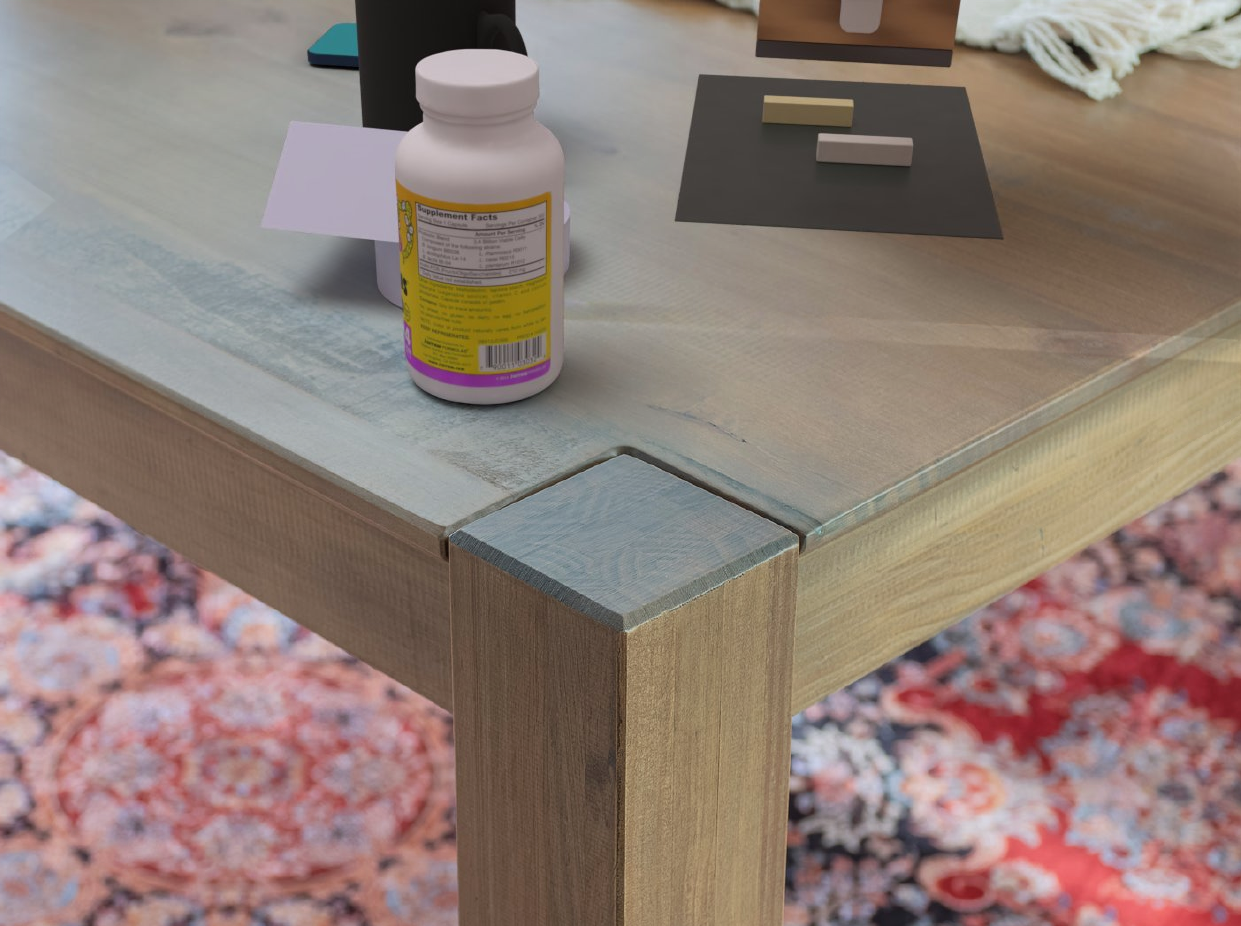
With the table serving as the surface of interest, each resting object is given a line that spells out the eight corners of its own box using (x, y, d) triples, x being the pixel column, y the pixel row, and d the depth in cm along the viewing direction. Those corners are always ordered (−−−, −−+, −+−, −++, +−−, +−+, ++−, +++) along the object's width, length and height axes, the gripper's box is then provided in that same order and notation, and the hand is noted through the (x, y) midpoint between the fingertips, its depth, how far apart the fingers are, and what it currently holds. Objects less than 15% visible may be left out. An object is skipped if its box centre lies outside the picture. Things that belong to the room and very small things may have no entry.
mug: (462, 221, 85) (457, 8, 79) (335, 155, 92) (321, -44, 86) (590, 186, 89) (594, -18, 83) (458, 126, 97) (453, -66, 90)
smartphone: (336, 19, 110) (560, 32, 108) (337, 32, 111) (560, 45, 109) (303, 53, 105) (539, 68, 103) (304, 66, 105) (539, 81, 103)
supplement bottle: (446, 330, 74) (436, 31, 67) (585, 356, 73) (591, 52, 65) (377, 393, 69) (358, 78, 62) (525, 423, 67) (524, 102, 60)
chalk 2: (909, 159, 90) (912, 137, 90) (910, 167, 89) (913, 144, 89) (816, 154, 91) (818, 132, 90) (816, 162, 90) (818, 140, 89)
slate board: (963, 103, 101) (965, 86, 101) (1000, 258, 82) (1004, 238, 81) (698, 90, 103) (699, 73, 102) (673, 239, 83) (674, 220, 83)
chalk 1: (850, 120, 95) (853, 99, 95) (851, 127, 94) (853, 106, 94) (762, 116, 96) (764, 95, 95) (762, 123, 95) (763, 101, 94)
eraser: (944, 39, 81) (954, -35, 79) (950, 68, 77) (962, -9, 75) (757, 30, 82) (763, -44, 80) (754, 57, 78) (761, -19, 76)
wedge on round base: (267, 297, 77) (541, 330, 75) (252, 153, 73) (542, 182, 71) (335, 226, 84) (588, 253, 82) (325, 90, 80) (591, 115, 78)
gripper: (993, -299, 62) (938, 82, 70) (954, -352, 78) (913, -40, 86) (821, -305, 62) (786, 74, 70) (818, -357, 79) (790, -45, 87)
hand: (856, 10), depth 79 cm, fingers closed on eraser, 4 cm apart
